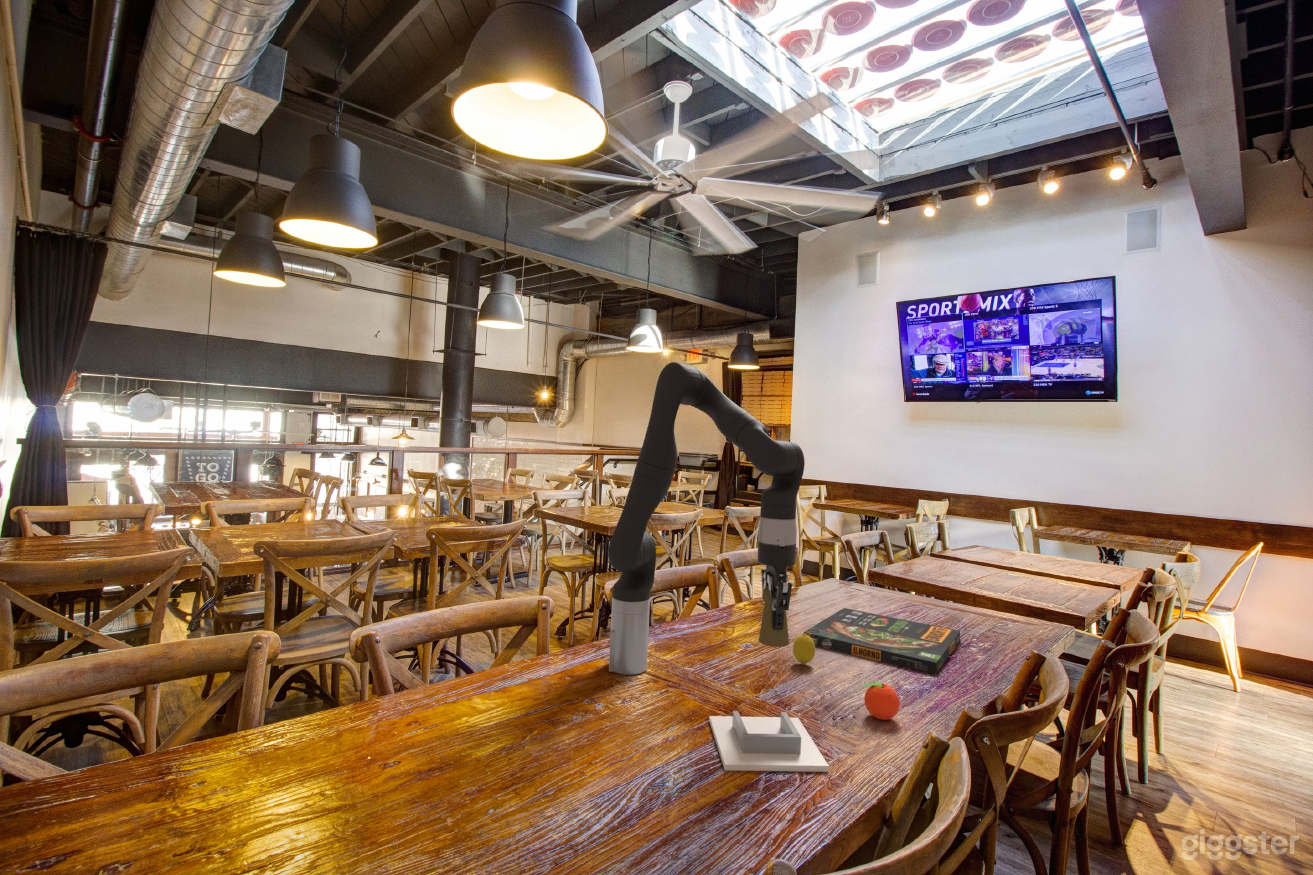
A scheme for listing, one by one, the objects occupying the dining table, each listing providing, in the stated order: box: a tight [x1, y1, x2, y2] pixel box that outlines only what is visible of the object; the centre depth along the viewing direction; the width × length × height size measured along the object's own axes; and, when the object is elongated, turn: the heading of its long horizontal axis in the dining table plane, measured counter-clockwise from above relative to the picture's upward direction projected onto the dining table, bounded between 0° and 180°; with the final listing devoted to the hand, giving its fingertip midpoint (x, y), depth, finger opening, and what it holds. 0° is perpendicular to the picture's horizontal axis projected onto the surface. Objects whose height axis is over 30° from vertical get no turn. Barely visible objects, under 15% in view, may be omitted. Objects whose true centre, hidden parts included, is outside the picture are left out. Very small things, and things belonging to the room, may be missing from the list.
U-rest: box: [708, 710, 830, 773], centre depth 111 cm, size 18×18×4 cm
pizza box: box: [803, 607, 961, 675], centre depth 175 cm, size 35×35×4 cm
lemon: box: [792, 633, 816, 666], centre depth 153 cm, size 6×6×8 cm
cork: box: [758, 586, 790, 648], centre depth 120 cm, size 6×6×11 cm
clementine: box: [859, 682, 901, 721], centre depth 125 cm, size 8×7×7 cm
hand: (774, 625), depth 120 cm, fingers closed on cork, 4 cm apart
